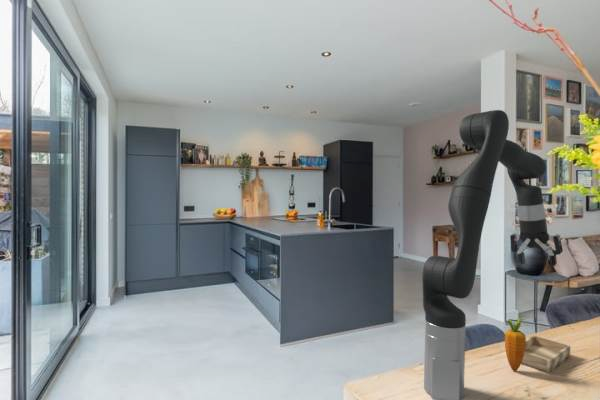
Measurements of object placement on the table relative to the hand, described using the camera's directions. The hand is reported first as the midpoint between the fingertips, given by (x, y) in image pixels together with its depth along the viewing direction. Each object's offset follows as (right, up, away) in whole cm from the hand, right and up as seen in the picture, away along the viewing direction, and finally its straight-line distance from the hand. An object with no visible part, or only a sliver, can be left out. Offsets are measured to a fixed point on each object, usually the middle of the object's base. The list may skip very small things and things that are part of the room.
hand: (537, 265), depth 117 cm
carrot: (-20, -26, -19) cm, 38 cm away
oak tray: (-6, -27, -11) cm, 29 cm away
